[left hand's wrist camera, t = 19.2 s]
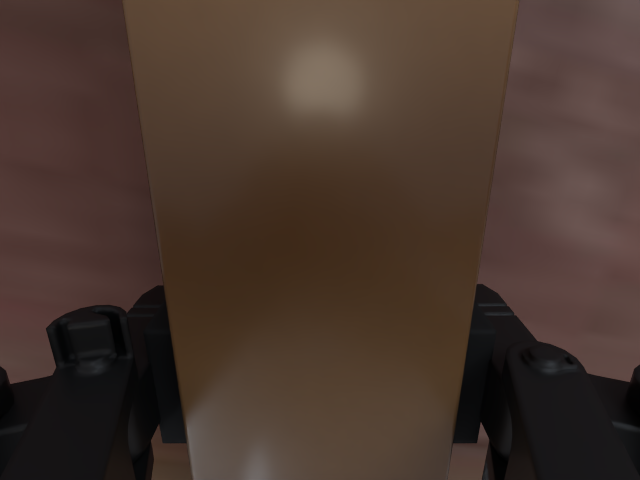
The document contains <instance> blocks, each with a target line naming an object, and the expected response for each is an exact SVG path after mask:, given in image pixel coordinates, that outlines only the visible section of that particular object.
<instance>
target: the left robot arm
mask: <svg viewBox="0 0 640 480" xmlns="http://www.w3.org/2000/svg"><path fill="white" fill-rule="evenodd" d="M46 331H47V334H48V338H49V342H50V345H51V349H52V352H53V356H54V360H55V363H56V369H55V371H54V373H53V375H52V376H48V377H44V378H39V379H34V380H29V381H24V382H19V383H14V384H10V382H9V379H8V376H7V373H6V370H4V369H3V368H2V367H0V480H151V477H152V469H153V462H154V457H153V450H152V445H151V439H152V437H153V435H154V433H155V430H156V428H157V426H158V424H159V425H160V430H161V436H162V442H163V443H187V442H186V435H185V428H184V422H183V415H182V408H181V401H180V394H179V387H178V380H177V374H176V367H175V360H174V353H173V346H172V339H171V332H170V326H169V319H168V312H167V305H166V298H165V291H164V286H156V287H154V288H153V289H151V290H149V291H148V292H146V293H145V294H143V295H142V296H141V297H140V298H139V299H138V301H137V302H136V303H135V304H134V305H133V308H131V309H130V310H129V312H128V313H126V311H124V310H123V309H122V308H120V307H117V306H112V305H95V306H90V307H85V308H80V309H78V310H75V311H72V312H69V313H66V314H65V315H63V316H61V317H59V318H58V319H56V320H54V321H53V322H52V323H51V324H50V325H49V326H48V327H47V328H46ZM480 423H482V425H483V427H484V429H485V431H486V433H487V435H488V437H489V445H488V450H487V455H486V460H485V466H484V471H483V476H482V480H488V479H489V480H640V365H639V366H637V367H636V368H635V369H634V372H633V375H632V378H631V381H630V382H626V381H621V380H616V379H611V378H606V377H601V376H596V375H592V374H588V373H587V372H586V370H585V369H584V367H583V365H582V364H581V363H580V362H579V361H578V359H577V358H576V357H574V356H573V355H571V354H570V353H568V352H567V351H565V350H563V349H561V348H558V347H556V346H554V345H551V344H547V343H543V342H539V341H537V340H536V339H535V338H534V336H533V335H532V334H531V333H530V332H529V330H528V329H527V328H526V327H525V326H524V324H523V323H522V322H521V321H520V320H519V318H518V317H517V316H514V312H513V311H512V310H511V309H510V308H509V306H507V304H506V303H505V302H504V300H503V299H502V298H501V297H500V296H499V294H498V293H496V292H494V291H493V290H491V289H489V288H488V287H486V286H484V285H483V284H477V286H476V292H475V299H474V306H473V312H472V319H471V325H470V332H469V339H468V345H467V352H466V359H465V365H464V372H463V379H462V385H461V392H460V399H459V405H458V412H457V419H456V425H455V432H454V439H453V443H477V440H478V434H479V429H480Z"/></svg>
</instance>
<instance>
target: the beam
mask: <svg viewBox="0 0 640 480" xmlns="http://www.w3.org/2000/svg"><path fill="white" fill-rule="evenodd" d="M122 4H123V11H124V17H125V24H126V31H127V38H128V45H129V52H130V58H131V65H132V72H133V79H134V86H135V93H136V100H137V106H138V113H139V120H140V127H141V134H142V141H143V148H144V154H145V161H146V168H147V175H148V182H149V189H150V195H151V202H152V209H153V216H154V223H155V230H156V237H157V243H158V250H159V257H160V264H161V271H162V278H163V285H164V291H165V298H166V305H167V312H168V319H169V326H170V332H171V339H172V346H173V353H174V360H175V367H176V374H177V380H178V387H179V394H180V401H181V408H182V415H183V422H184V428H185V435H186V442H187V449H188V456H189V463H190V469H191V476H192V480H447V479H448V472H449V465H450V459H451V452H452V445H453V439H454V432H455V425H456V419H457V412H458V405H459V399H460V392H461V385H462V379H463V372H464V365H465V359H466V352H467V345H468V339H469V332H470V325H471V319H472V312H473V306H474V299H475V292H476V286H477V279H478V272H479V266H480V259H481V252H482V246H483V239H484V232H485V226H486V219H487V212H488V206H489V199H490V192H491V186H492V179H493V172H494V166H495V159H496V152H497V146H498V139H499V132H500V126H501V119H502V112H503V106H504V99H505V93H506V86H507V79H508V73H509V66H510V59H511V53H512V46H513V39H514V33H515V26H516V19H517V13H518V6H519V0H122Z"/></svg>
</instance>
